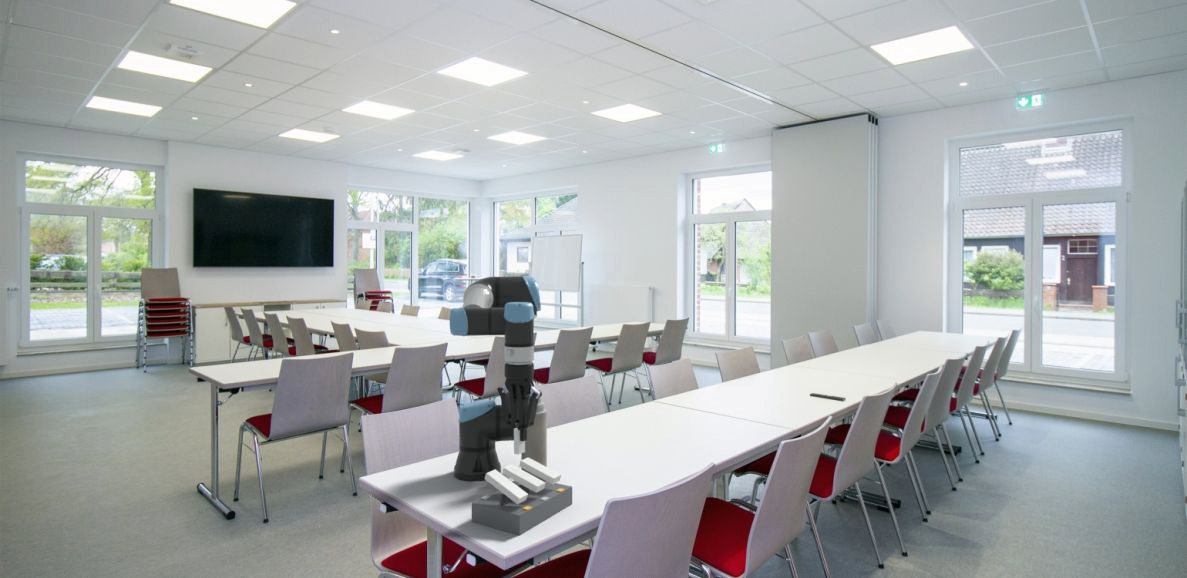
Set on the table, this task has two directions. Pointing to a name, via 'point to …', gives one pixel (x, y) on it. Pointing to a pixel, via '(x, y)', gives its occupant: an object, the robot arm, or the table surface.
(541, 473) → the rocker
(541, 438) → the thermos bottle
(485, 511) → the console
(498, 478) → the rocker
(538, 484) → the rocker
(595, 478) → the table surface
